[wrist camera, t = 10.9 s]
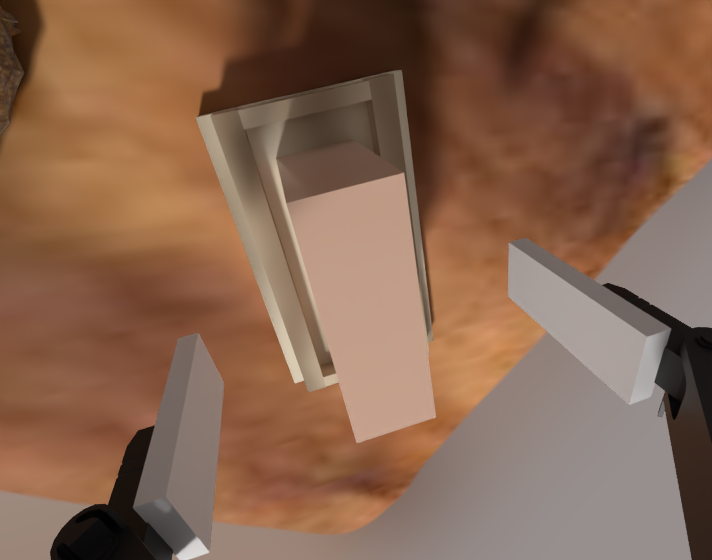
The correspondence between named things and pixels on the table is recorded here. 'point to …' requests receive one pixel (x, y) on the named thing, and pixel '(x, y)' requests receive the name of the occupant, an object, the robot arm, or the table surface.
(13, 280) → the table surface
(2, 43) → the decorative rock
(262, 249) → the cream rectangular tray
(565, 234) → the table surface
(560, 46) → the table surface
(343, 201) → the clay block
